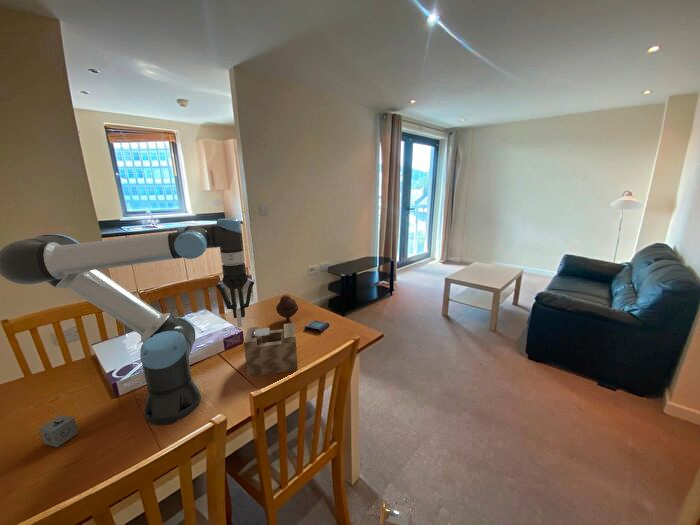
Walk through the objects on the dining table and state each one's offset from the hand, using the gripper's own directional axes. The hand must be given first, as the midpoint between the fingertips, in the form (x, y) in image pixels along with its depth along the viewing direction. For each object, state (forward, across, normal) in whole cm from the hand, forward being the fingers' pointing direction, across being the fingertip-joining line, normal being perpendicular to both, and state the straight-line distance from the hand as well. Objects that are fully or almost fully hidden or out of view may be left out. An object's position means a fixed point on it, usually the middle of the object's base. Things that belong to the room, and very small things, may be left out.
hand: (240, 325), depth 108 cm
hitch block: (+18, +10, 0) cm, 21 cm away
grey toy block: (+18, -46, -22) cm, 54 cm away
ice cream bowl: (+18, +17, +35) cm, 43 cm away
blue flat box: (+19, +28, +22) cm, 40 cm away
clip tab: (+4, +4, 0) cm, 6 cm away
